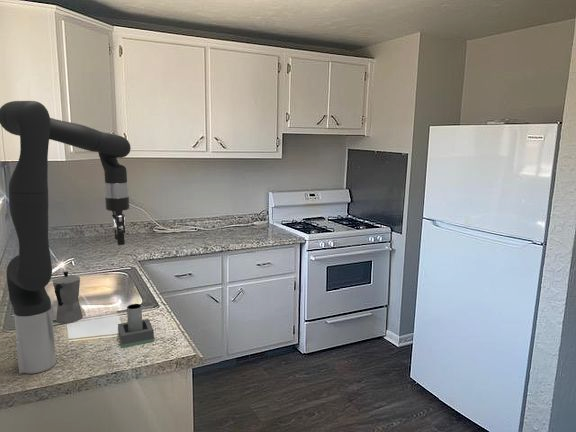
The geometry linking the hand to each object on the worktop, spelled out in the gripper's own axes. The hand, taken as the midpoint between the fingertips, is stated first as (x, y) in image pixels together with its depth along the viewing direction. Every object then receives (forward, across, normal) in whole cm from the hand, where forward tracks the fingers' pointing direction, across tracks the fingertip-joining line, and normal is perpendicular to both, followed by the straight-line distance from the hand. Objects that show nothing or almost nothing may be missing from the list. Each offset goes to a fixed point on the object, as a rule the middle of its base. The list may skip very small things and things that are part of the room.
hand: (119, 242), depth 149 cm
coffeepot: (+30, -12, -18) cm, 37 cm away
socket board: (+30, +14, +2) cm, 33 cm away
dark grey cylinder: (+29, +14, +2) cm, 33 cm away
